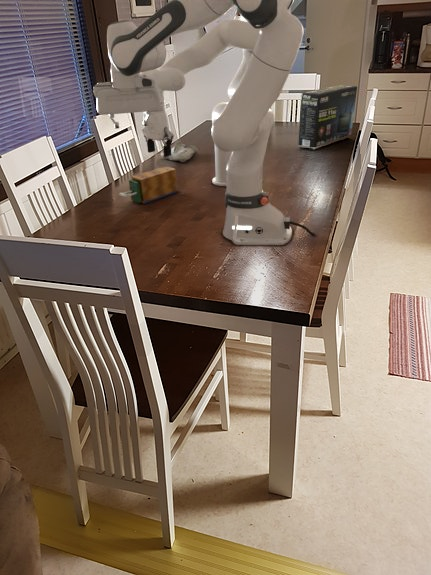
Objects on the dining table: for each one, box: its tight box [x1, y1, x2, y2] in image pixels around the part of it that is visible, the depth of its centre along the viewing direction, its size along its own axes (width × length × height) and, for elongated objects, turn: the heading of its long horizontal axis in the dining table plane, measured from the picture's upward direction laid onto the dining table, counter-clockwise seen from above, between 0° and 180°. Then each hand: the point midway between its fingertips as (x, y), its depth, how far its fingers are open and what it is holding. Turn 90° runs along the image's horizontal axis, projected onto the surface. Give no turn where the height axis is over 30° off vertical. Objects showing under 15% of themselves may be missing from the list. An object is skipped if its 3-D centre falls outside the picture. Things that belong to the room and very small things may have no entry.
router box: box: [297, 84, 358, 151], centre depth 238 cm, size 36×11×27 cm, turn 134°
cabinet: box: [131, 165, 179, 205], centre depth 180 cm, size 17×6×10 cm, turn 135°
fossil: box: [160, 142, 199, 163], centre depth 229 cm, size 18×11×15 cm
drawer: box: [118, 179, 143, 204], centre depth 177 cm, size 22×5×8 cm, turn 135°
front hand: (131, 126), depth 150 cm, fingers open, 8 cm apart
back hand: (159, 153), depth 177 cm, fingers open, 9 cm apart
